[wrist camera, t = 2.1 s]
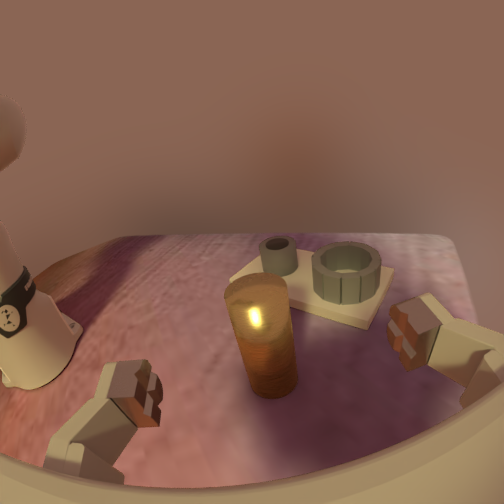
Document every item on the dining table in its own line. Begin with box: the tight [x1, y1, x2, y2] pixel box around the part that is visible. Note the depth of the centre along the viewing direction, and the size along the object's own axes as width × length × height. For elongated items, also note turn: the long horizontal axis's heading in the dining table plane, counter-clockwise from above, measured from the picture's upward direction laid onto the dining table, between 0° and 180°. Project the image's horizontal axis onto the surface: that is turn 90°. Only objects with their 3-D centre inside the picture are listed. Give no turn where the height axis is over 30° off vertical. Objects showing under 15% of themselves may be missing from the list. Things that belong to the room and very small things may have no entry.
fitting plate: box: [229, 236, 394, 330], centre depth 41 cm, size 22×12×6 cm, turn 52°
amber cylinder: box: [224, 272, 298, 399], centre depth 25 cm, size 5×5×12 cm
